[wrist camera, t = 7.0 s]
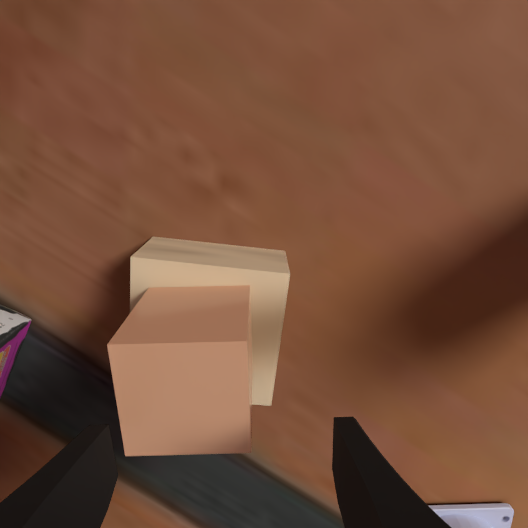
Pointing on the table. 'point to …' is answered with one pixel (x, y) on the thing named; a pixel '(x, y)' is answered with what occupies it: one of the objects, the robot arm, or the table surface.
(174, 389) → the terracotta cube
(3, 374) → the candy bar box
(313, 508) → the table surface
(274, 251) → the oak block
